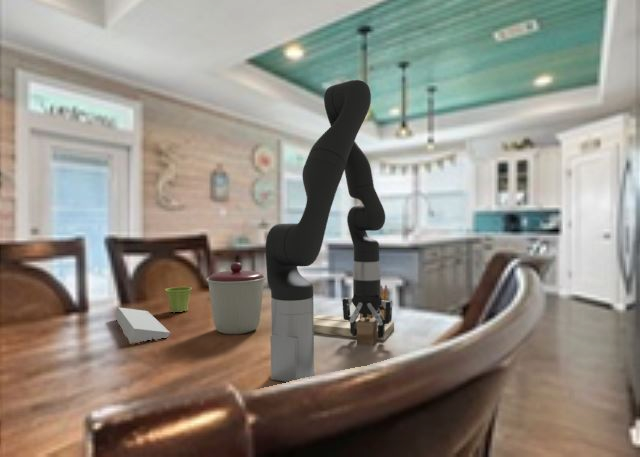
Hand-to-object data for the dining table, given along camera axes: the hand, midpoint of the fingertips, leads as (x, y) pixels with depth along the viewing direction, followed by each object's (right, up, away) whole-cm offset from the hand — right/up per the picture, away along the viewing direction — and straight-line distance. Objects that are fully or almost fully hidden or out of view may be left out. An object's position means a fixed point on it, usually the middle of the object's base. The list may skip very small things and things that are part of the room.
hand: (367, 336), depth 114 cm
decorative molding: (-71, -3, +17) cm, 73 cm away
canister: (-39, -2, +13) cm, 41 cm away
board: (-6, -1, +12) cm, 13 cm away
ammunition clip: (+5, -1, +22) cm, 22 cm away
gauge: (+1, -1, +3) cm, 4 cm away
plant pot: (-66, -1, +41) cm, 78 cm away
